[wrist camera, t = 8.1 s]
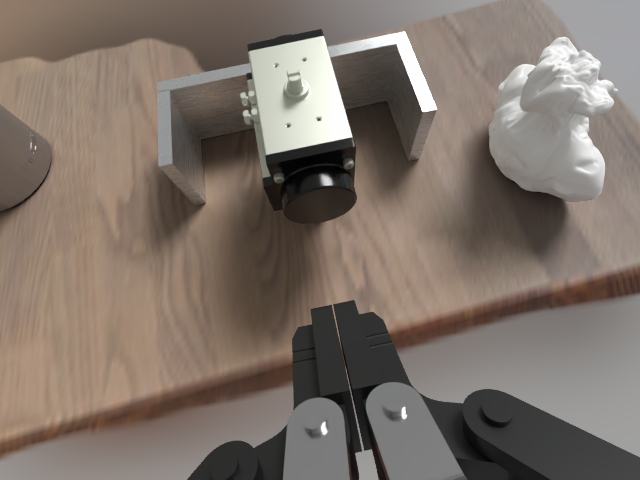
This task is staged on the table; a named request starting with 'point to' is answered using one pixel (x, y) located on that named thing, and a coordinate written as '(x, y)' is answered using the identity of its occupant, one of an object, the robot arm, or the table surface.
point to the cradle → (227, 109)
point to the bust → (552, 124)
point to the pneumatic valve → (300, 128)
